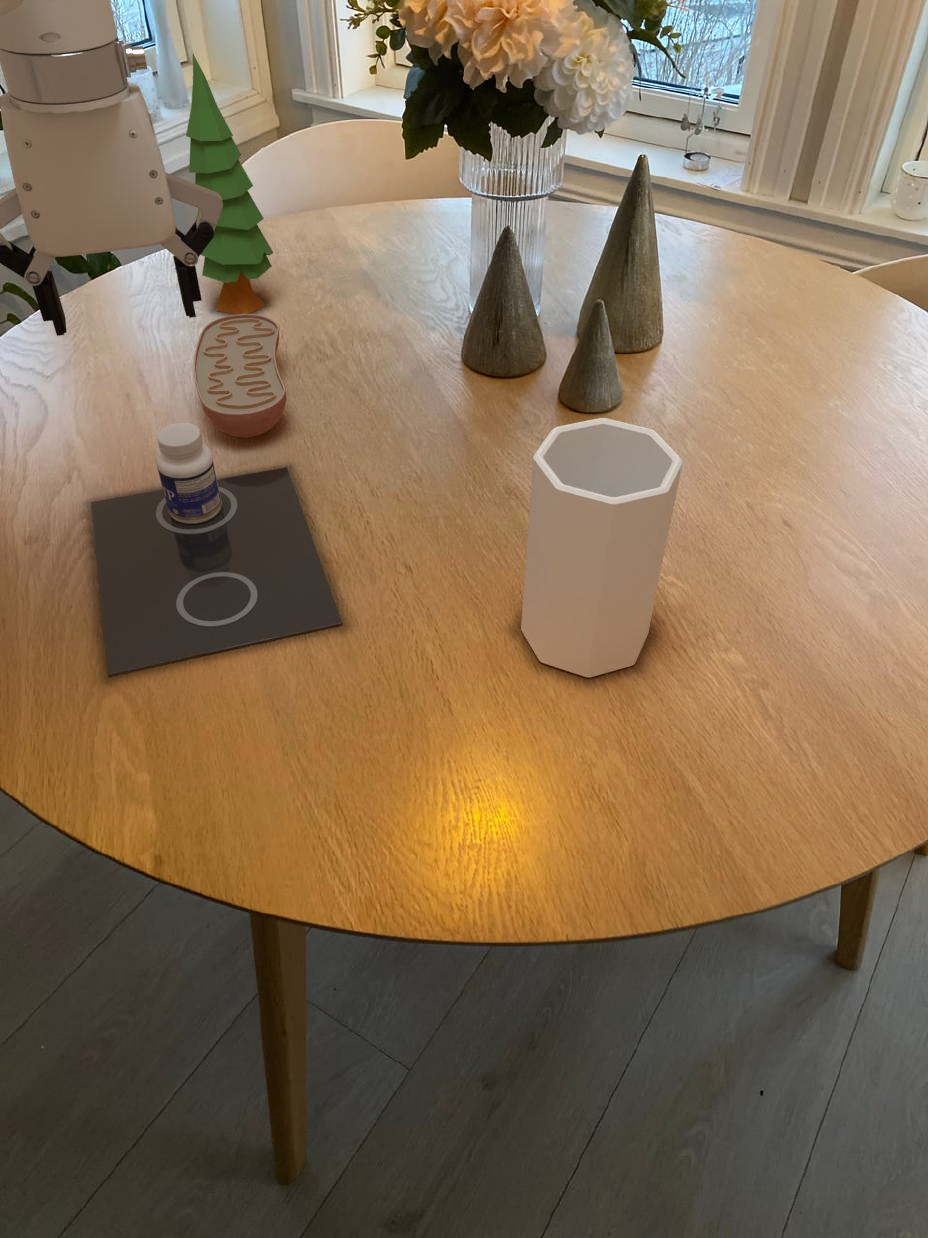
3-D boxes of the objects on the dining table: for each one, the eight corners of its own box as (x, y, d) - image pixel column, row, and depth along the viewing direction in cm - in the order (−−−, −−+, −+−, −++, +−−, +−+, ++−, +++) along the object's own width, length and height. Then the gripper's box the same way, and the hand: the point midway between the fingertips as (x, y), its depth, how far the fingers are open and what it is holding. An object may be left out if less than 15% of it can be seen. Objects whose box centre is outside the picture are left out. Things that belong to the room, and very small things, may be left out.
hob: (108, 676, 80) (107, 673, 80) (91, 504, 97) (90, 500, 97) (342, 625, 85) (342, 621, 84) (287, 469, 102) (286, 465, 101)
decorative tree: (212, 290, 132) (168, 42, 111) (281, 287, 133) (250, 41, 112) (206, 323, 125) (158, 65, 104) (279, 320, 126) (245, 64, 105)
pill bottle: (164, 500, 97) (145, 424, 91) (215, 488, 98) (200, 413, 92) (174, 530, 93) (155, 454, 87) (227, 518, 95) (212, 442, 89)
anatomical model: (293, 449, 104) (287, 409, 101) (200, 458, 103) (191, 418, 100) (282, 348, 121) (277, 310, 117) (201, 354, 119) (194, 316, 116)
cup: (520, 588, 88) (532, 414, 76) (641, 591, 88) (673, 417, 75) (521, 677, 80) (535, 499, 68) (654, 681, 80) (693, 503, 67)
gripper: (192, 47, 67) (231, 283, 79) (-75, 66, 63) (8, 312, 75) (207, 77, 62) (246, 324, 74) (-83, 99, 58) (8, 358, 70)
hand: (126, 318), depth 74 cm, fingers open, 9 cm apart
